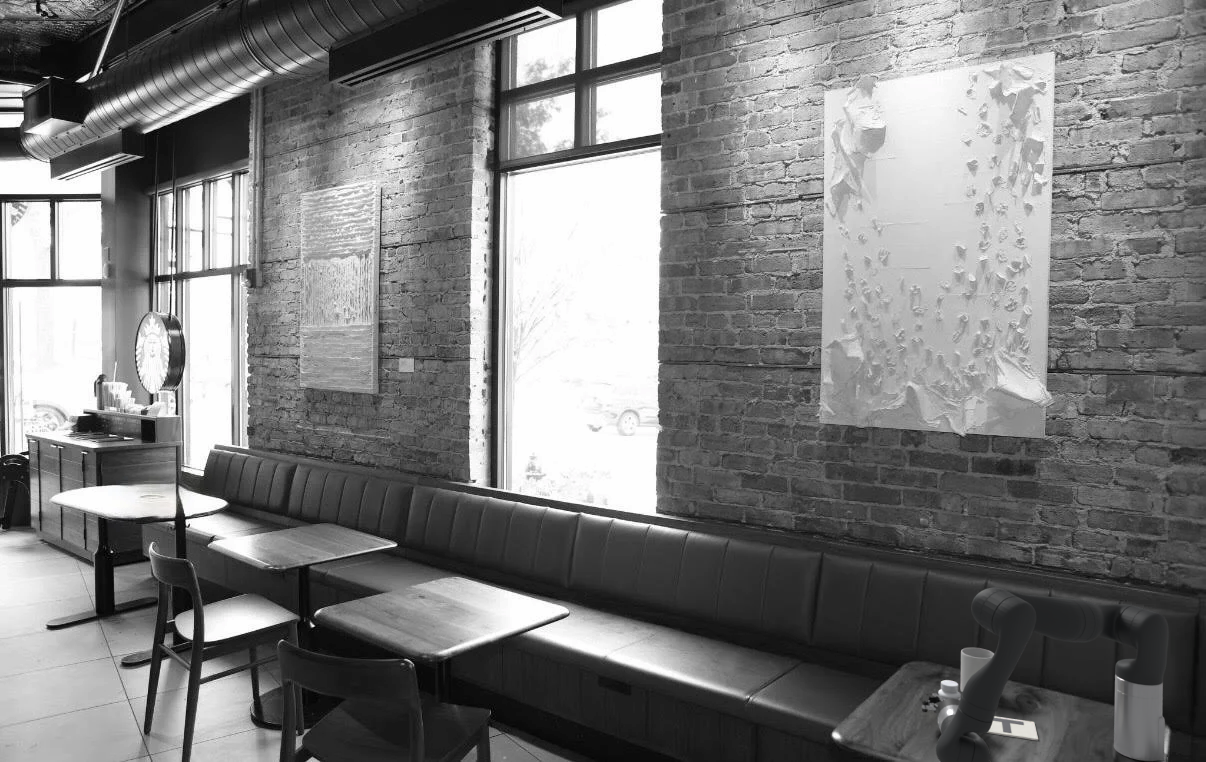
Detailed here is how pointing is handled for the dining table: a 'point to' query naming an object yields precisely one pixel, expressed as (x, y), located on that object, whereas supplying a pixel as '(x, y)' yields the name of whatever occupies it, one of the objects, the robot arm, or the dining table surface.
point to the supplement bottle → (949, 690)
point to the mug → (972, 662)
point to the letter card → (1013, 728)
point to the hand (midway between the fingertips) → (948, 694)
